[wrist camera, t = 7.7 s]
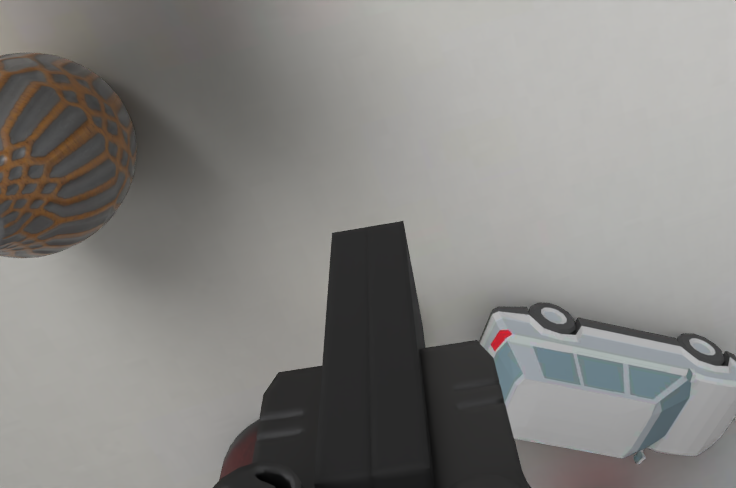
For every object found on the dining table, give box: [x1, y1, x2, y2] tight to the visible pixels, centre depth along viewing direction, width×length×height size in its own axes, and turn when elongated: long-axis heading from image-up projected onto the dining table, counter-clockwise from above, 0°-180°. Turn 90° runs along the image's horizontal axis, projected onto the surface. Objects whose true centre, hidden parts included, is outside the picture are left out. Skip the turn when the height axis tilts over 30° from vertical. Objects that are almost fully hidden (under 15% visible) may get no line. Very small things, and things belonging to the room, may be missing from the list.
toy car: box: [479, 303, 736, 464], centre depth 33 cm, size 6×13×5 cm, turn 76°
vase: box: [0, 53, 137, 258], centre depth 25 cm, size 7×7×9 cm
